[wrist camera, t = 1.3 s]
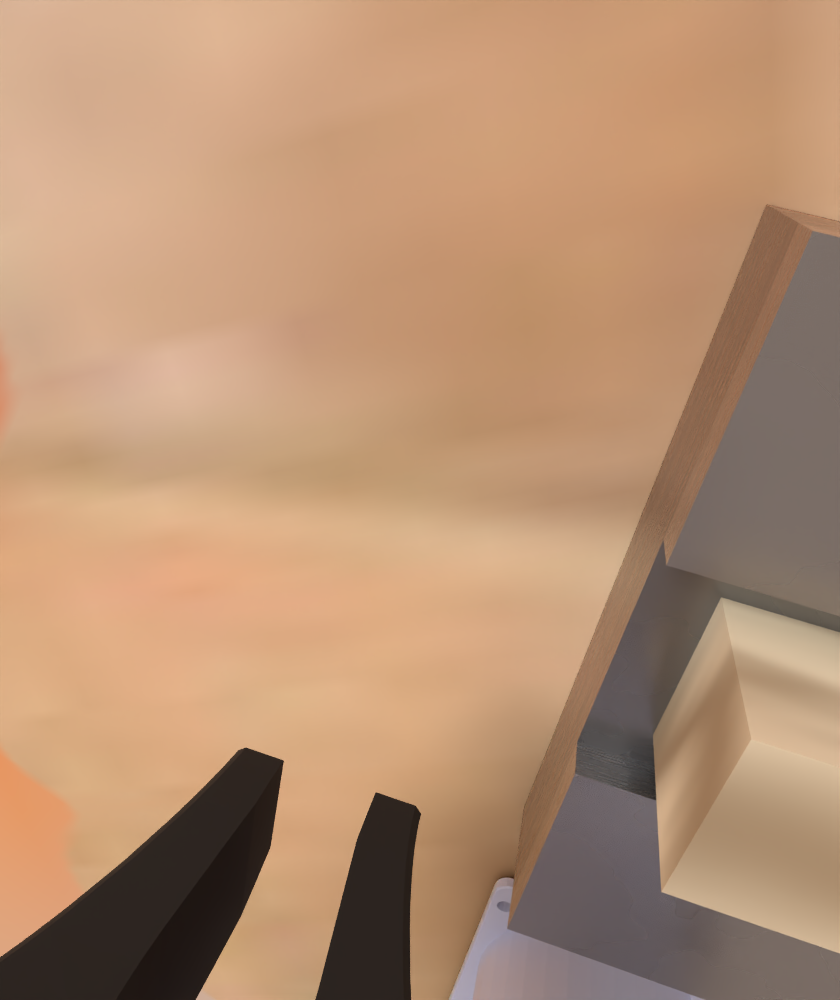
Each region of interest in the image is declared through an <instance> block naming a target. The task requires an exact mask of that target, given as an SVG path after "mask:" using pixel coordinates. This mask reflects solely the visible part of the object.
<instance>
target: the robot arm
mask: <svg viewBox="0 0 840 1000" xmlns="http://www.w3.org/2000/svg"><path fill="white" fill-rule="evenodd" d="M283 762H284V761H283V760H280V759H278V758H275V757H272V756H269V755H266V754H263V753H260V752H257V751H254V750H251V749H248V748H244V749H241V750H238V751H237V753H236V754H235V755H234V756H233V757H232V758H231V759H230V760H229V761H228V762H227V764H226V765H225V766H224V767H223V768H222V769H221V770H220V771H219V772H218V773H217V774H216V775H215V776H214V777H213V778H212V779H211V780H210V781H209V782H208V783H207V784H206V785H205V786H204V787H203V788H202V789H201V790H200V791H199V792H198V793H197V794H196V795H195V796H194V797H193V798H192V799H191V800H190V801H189V802H188V803H187V804H186V805H185V806H184V807H183V808H182V809H181V810H180V811H179V812H178V813H176V814H175V815H174V816H173V817H172V818H171V819H170V820H169V821H168V822H167V823H166V824H165V825H163V826H162V827H161V828H160V829H159V830H158V831H157V832H156V833H155V834H153V835H152V836H151V837H150V838H149V839H148V840H147V841H146V842H144V843H143V844H142V845H141V846H140V847H139V848H138V849H137V850H136V851H134V852H133V853H132V854H131V855H130V856H129V857H128V858H127V859H125V860H124V861H123V862H122V863H121V864H120V865H118V866H117V867H116V868H115V869H114V870H112V871H111V872H110V873H109V874H107V875H106V876H105V877H104V878H103V879H101V880H100V881H99V882H98V883H96V884H95V885H94V886H93V887H91V888H90V889H89V890H88V891H87V892H85V893H84V894H83V895H82V896H80V897H79V898H78V899H77V900H76V901H74V902H73V903H72V904H71V905H69V906H68V907H67V908H66V909H64V910H63V911H62V912H61V913H59V914H58V915H57V916H55V917H54V918H53V919H51V920H50V921H49V922H47V923H46V924H45V925H44V926H42V927H41V928H40V929H38V930H37V931H36V932H34V933H33V934H32V935H30V936H29V937H28V938H26V939H25V940H24V941H22V942H21V943H19V944H18V945H17V946H15V947H14V948H12V949H11V950H10V951H8V952H7V953H5V954H4V955H3V956H1V957H0V1000H196V998H197V996H198V994H199V992H200V991H201V989H202V987H203V985H204V983H205V982H206V980H207V978H208V976H209V974H210V972H211V971H212V969H213V967H214V965H215V963H216V961H217V959H218V958H219V956H220V954H221V952H222V950H223V948H224V947H225V945H226V943H227V941H228V939H229V937H230V936H231V934H232V932H233V930H234V928H235V926H236V924H237V922H238V921H239V919H240V917H241V915H242V912H243V910H244V908H245V906H246V903H247V901H248V899H249V896H250V894H251V892H252V889H253V887H254V885H255V882H256V880H257V878H258V875H259V873H260V871H261V868H262V866H263V863H264V861H265V859H266V856H267V854H268V852H269V849H270V846H271V840H272V833H273V827H274V820H275V814H276V807H277V801H278V794H279V788H280V781H281V775H282V768H283ZM420 816H421V813H420V812H419V810H418V809H417V807H416V806H414V805H411V804H408V803H405V802H403V801H400V800H397V799H394V798H391V797H388V796H385V795H382V794H379V793H375V796H374V798H373V801H372V803H371V806H370V808H369V811H368V813H367V816H366V818H365V821H364V823H363V826H362V828H361V831H360V833H359V836H358V838H357V842H356V846H355V850H354V854H353V858H352V861H351V865H350V869H349V873H348V877H347V881H346V885H345V889H344V892H343V896H342V900H341V904H340V908H339V912H338V916H337V920H336V923H335V927H334V931H333V935H332V939H331V943H330V947H329V951H328V954H327V958H326V962H325V966H324V970H323V974H322V978H321V982H320V986H319V989H318V993H317V996H316V999H315V1000H411V986H410V899H411V881H412V867H413V857H414V848H415V841H416V835H417V829H418V824H419V820H420ZM513 883H514V879H513V878H509V877H508V878H501V879H499V880H498V881H497V882H496V883H495V885H494V888H493V890H492V893H491V895H490V898H489V900H488V903H487V905H486V908H485V910H484V913H483V915H482V918H481V920H480V923H479V925H478V928H477V930H476V933H475V935H474V937H473V940H472V942H471V945H470V947H469V950H468V952H467V955H466V957H465V960H464V962H463V965H462V967H461V970H460V972H459V975H458V977H457V980H456V982H455V985H454V987H453V989H452V992H451V994H450V997H449V999H448V1000H704V999H701V998H699V997H696V996H693V995H690V994H687V993H685V992H682V991H679V990H676V989H673V988H671V987H668V986H665V985H662V984H660V983H657V982H654V981H651V980H648V979H646V978H643V977H640V976H637V975H634V974H632V973H629V972H626V971H623V970H620V969H618V968H615V967H612V966H609V965H606V964H604V963H601V962H598V961H595V960H593V959H590V958H587V957H584V956H581V955H579V954H576V953H573V952H570V951H567V950H565V949H562V948H559V947H556V946H553V945H551V944H548V943H545V942H542V941H539V940H537V939H534V938H531V937H528V936H525V935H523V934H520V933H517V932H514V931H512V930H509V929H507V926H508V919H509V912H510V904H511V897H512V890H513Z"/></svg>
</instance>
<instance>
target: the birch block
mask: <svg viewBox="0 0 840 1000" xmlns="http://www.w3.org/2000/svg"><path fill="white" fill-rule="evenodd" d="M653 745H654V764H655V783H656V802H657V821H658V839H659V858H660V877H661V892H663V893H665V894H668V895H671V896H674V897H677V898H680V899H683V900H686V901H689V902H692V903H695V904H697V905H700V906H703V907H706V908H709V909H712V910H715V911H718V912H721V913H724V914H726V915H729V916H732V917H735V918H738V919H741V920H744V921H747V922H750V923H753V924H756V925H758V926H761V927H764V928H767V929H770V930H773V931H776V932H779V933H782V934H785V935H788V936H790V937H793V938H796V939H799V940H802V941H805V942H808V943H811V944H814V945H817V946H819V947H822V948H825V949H828V950H831V951H834V952H837V953H840V632H837V631H833V630H830V629H827V628H823V627H820V626H816V625H813V624H810V623H806V622H803V621H800V620H796V619H793V618H789V617H786V616H783V615H779V614H776V613H773V612H769V611H766V610H762V609H759V608H756V607H752V606H749V605H746V604H742V603H739V602H735V601H732V600H729V599H725V598H722V597H721V599H720V601H719V603H718V605H717V607H716V609H715V611H714V613H713V615H712V617H711V619H710V621H709V623H708V625H707V627H706V629H705V631H704V633H703V635H702V637H701V639H700V641H699V643H698V645H697V647H696V649H695V651H694V653H693V655H692V657H691V659H690V661H689V663H688V665H687V667H686V669H685V671H684V674H683V676H682V678H681V680H680V682H679V684H678V686H677V688H676V690H675V692H674V694H673V696H672V698H671V700H670V702H669V704H668V706H667V708H666V710H665V712H664V714H663V716H662V718H661V720H660V722H659V724H658V726H657V728H656V730H655V732H654V734H653Z"/></svg>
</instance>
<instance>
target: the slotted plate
mask: <svg viewBox="0 0 840 1000" xmlns="http://www.w3.org/2000/svg"><path fill="white" fill-rule="evenodd" d="M721 597H722V598H725V599H729V600H732V601H735V602H739V603H742V604H746V605H749V606H752V607H756V608H759V609H762V610H766V611H769V612H773V613H776V614H779V615H783V616H786V617H789V618H793V619H796V620H800V621H803V622H806V623H810V624H813V625H816V626H820V627H823V628H827V629H830V630H833V631H837V632H840V222H839V221H835V220H831V219H827V218H822V217H818V216H814V215H810V214H805V213H801V212H797V211H793V210H788V209H784V208H780V207H776V206H771V205H766V207H765V210H764V212H763V215H762V217H761V220H760V222H759V225H758V227H757V230H756V232H755V235H754V237H753V240H752V242H751V245H750V247H749V250H748V252H747V255H746V257H745V260H744V262H743V265H742V267H741V270H740V272H739V274H738V277H737V279H736V282H735V284H734V287H733V289H732V292H731V294H730V297H729V299H728V302H727V304H726V307H725V309H724V312H723V314H722V317H721V319H720V322H719V324H718V327H717V329H716V332H715V334H714V337H713V339H712V342H711V344H710V347H709V349H708V352H707V354H706V357H705V359H704V362H703V364H702V367H701V369H700V372H699V374H698V376H697V379H696V381H695V384H694V386H693V389H692V391H691V394H690V396H689V399H688V401H687V404H686V406H685V409H684V411H683V414H682V416H681V419H680V421H679V424H678V426H677V429H676V431H675V434H674V436H673V439H672V441H671V444H670V446H669V449H668V451H667V454H666V456H665V459H664V461H663V464H662V466H661V469H660V471H659V474H658V476H657V478H656V481H655V483H654V486H653V488H652V491H651V493H650V496H649V498H648V501H647V503H646V506H645V508H644V511H643V513H642V516H641V518H640V521H639V523H638V526H637V528H636V531H635V533H634V536H633V538H632V541H631V543H630V546H629V548H628V551H627V553H626V556H625V558H624V561H623V563H622V566H621V568H620V571H619V573H618V576H617V578H616V580H615V583H614V585H613V588H612V590H611V593H610V595H609V598H608V600H607V603H606V605H605V608H604V610H603V613H602V615H601V618H600V620H599V623H598V625H597V628H596V630H595V633H594V635H593V638H592V640H591V643H590V645H589V648H588V650H587V653H586V655H585V658H584V660H583V663H582V665H581V668H580V670H579V673H578V675H577V678H576V680H575V682H574V685H573V687H572V690H571V692H570V695H569V697H568V700H567V702H566V705H565V707H564V710H563V712H562V715H561V717H560V720H559V722H558V725H557V727H556V730H555V732H554V735H553V737H552V740H551V742H550V745H549V747H548V750H547V752H546V755H545V757H544V760H543V762H542V765H541V767H540V770H539V772H538V775H537V777H536V780H535V782H534V784H533V787H532V789H531V792H530V794H529V797H528V799H527V802H526V804H525V807H524V812H523V819H522V826H521V833H520V840H519V847H518V854H517V862H516V869H515V876H514V883H513V890H512V897H511V904H510V912H509V919H508V926H507V929H509V930H512V931H514V932H517V933H520V934H523V935H525V936H528V937H531V938H534V939H537V940H539V941H542V942H545V943H548V944H551V945H553V946H556V947H559V948H562V949H565V950H567V951H570V952H573V953H576V954H579V955H581V956H584V957H587V958H590V959H593V960H595V961H598V962H601V963H604V964H606V965H609V966H612V967H615V968H618V969H620V970H623V971H626V972H629V973H632V974H634V975H637V976H640V977H643V978H646V979H648V980H651V981H654V982H657V983H660V984H662V985H665V986H668V987H671V988H673V989H676V990H679V991H682V992H685V993H687V994H690V995H693V996H696V997H699V998H701V999H704V1000H840V953H837V952H834V951H831V950H828V949H825V948H822V947H819V946H817V945H814V944H811V943H808V942H805V941H802V940H799V939H796V938H793V937H790V936H788V935H785V934H782V933H779V932H776V931H773V930H770V929H767V928H764V927H761V926H758V925H756V924H753V923H750V922H747V921H744V920H741V919H738V918H735V917H732V916H729V915H726V914H724V913H721V912H718V911H715V910H712V909H709V908H706V907H703V906H700V905H697V904H695V903H692V902H689V901H686V900H683V899H680V898H677V897H674V896H671V895H668V894H665V893H663V892H661V877H660V858H659V839H658V821H657V802H656V783H655V764H654V745H653V734H654V732H655V730H656V728H657V726H658V724H659V722H660V720H661V718H662V716H663V714H664V712H665V710H666V708H667V706H668V704H669V702H670V700H671V698H672V696H673V694H674V692H675V690H676V688H677V686H678V684H679V682H680V680H681V678H682V676H683V674H684V671H685V669H686V667H687V665H688V663H689V661H690V659H691V657H692V655H693V653H694V651H695V649H696V647H697V645H698V643H699V641H700V639H701V637H702V635H703V633H704V631H705V629H706V627H707V625H708V623H709V621H710V619H711V617H712V615H713V613H714V611H715V609H716V607H717V605H718V603H719V601H720V599H721Z"/></svg>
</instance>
